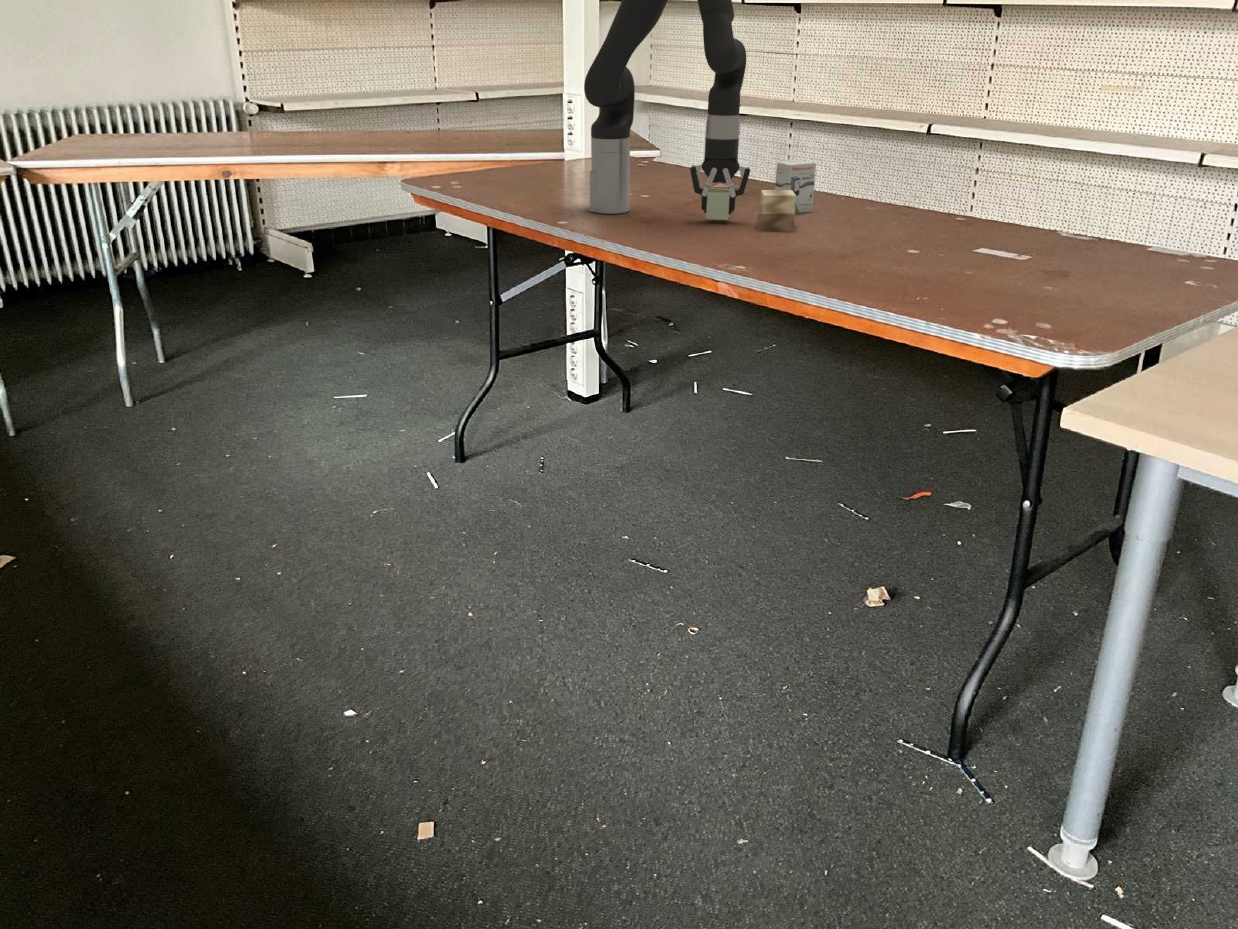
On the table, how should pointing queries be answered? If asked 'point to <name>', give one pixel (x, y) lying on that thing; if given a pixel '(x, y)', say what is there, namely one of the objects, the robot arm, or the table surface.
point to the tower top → (777, 202)
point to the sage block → (717, 204)
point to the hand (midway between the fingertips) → (718, 212)
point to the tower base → (775, 222)
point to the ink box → (797, 182)
